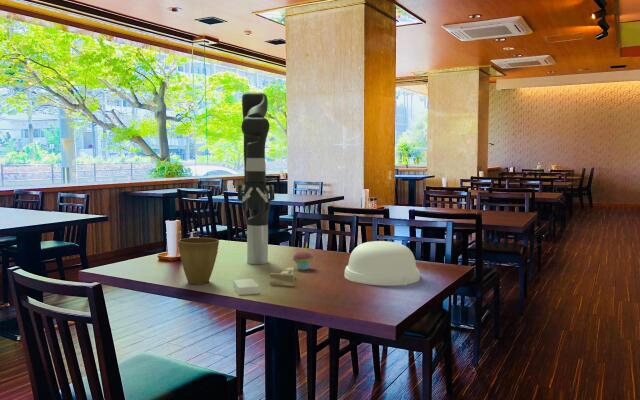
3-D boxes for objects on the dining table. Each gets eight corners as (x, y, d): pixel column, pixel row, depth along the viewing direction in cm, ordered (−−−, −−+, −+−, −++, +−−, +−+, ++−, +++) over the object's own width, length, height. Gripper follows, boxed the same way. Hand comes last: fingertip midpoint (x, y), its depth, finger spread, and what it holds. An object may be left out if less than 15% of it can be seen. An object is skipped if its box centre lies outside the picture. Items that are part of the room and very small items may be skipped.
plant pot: (200, 288, 185) (200, 244, 184) (169, 283, 192) (169, 240, 191) (227, 280, 198) (227, 239, 197) (197, 276, 205) (197, 236, 204)
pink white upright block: (233, 280, 189) (238, 287, 177) (252, 278, 191) (258, 286, 179) (233, 287, 189) (238, 295, 178) (252, 286, 191) (258, 294, 180)
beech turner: (280, 276, 206) (280, 266, 206) (302, 278, 204) (302, 268, 204) (269, 284, 193) (269, 273, 193) (292, 286, 191) (292, 275, 191)
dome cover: (329, 272, 215) (330, 239, 214) (389, 266, 229) (390, 235, 228) (372, 289, 187) (373, 251, 186) (437, 281, 201) (438, 245, 200)
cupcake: (316, 267, 224) (316, 240, 224) (307, 271, 217) (307, 242, 216) (298, 265, 228) (298, 238, 227) (289, 269, 220) (289, 241, 219)
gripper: (276, 169, 203) (276, 211, 205) (241, 169, 206) (242, 210, 208) (270, 170, 196) (270, 213, 198) (234, 170, 199) (235, 212, 200)
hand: (256, 211), depth 203 cm, fingers open, 8 cm apart
